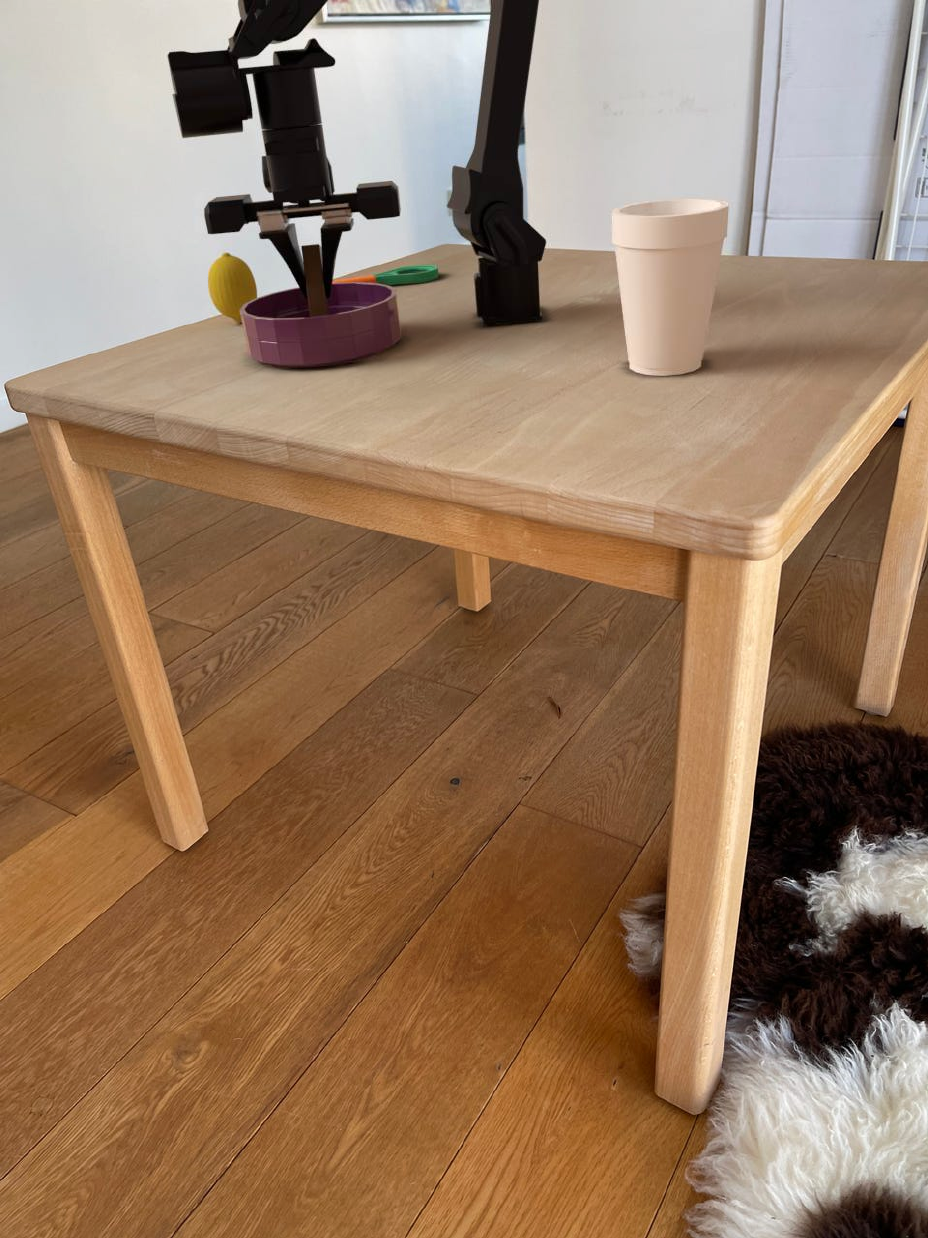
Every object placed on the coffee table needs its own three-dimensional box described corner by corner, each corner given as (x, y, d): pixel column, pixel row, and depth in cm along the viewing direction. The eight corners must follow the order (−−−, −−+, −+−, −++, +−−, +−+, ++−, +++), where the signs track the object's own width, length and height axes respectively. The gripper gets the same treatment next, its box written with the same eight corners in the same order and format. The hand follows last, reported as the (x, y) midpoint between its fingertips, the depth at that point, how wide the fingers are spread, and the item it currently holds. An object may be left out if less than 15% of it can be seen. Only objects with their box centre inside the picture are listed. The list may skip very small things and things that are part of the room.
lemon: (252, 327, 108) (237, 255, 104) (208, 329, 110) (193, 258, 105) (269, 316, 113) (256, 246, 109) (228, 317, 114) (213, 249, 110)
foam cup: (654, 388, 77) (657, 220, 70) (591, 364, 84) (589, 211, 78) (742, 365, 80) (753, 203, 74) (674, 344, 88) (679, 195, 81)
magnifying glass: (426, 272, 128) (425, 259, 128) (446, 277, 124) (445, 264, 123) (325, 291, 123) (323, 278, 122) (341, 298, 118) (339, 284, 117)
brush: (355, 338, 98) (345, 245, 95) (351, 336, 94) (340, 239, 91) (295, 343, 98) (283, 251, 95) (288, 342, 94) (275, 245, 91)
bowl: (403, 323, 104) (398, 276, 102) (400, 362, 90) (393, 309, 88) (262, 336, 104) (253, 290, 102) (238, 377, 91) (227, 325, 88)
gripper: (392, 114, 94) (409, 275, 102) (210, 131, 94) (241, 290, 102) (389, 119, 85) (408, 295, 92) (186, 138, 85) (223, 313, 93)
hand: (318, 297), depth 95 cm, fingers closed on brush, 2 cm apart
